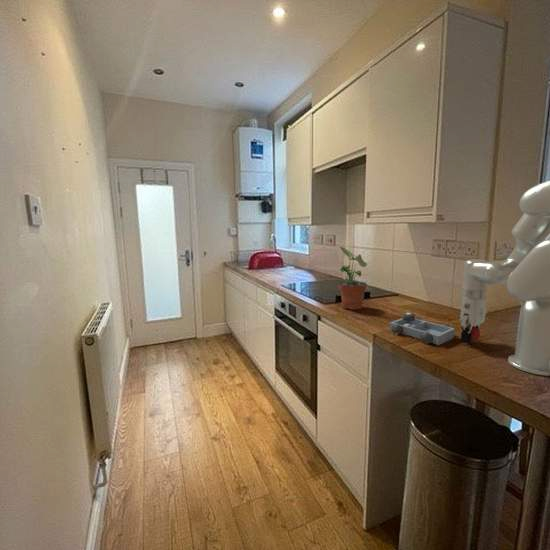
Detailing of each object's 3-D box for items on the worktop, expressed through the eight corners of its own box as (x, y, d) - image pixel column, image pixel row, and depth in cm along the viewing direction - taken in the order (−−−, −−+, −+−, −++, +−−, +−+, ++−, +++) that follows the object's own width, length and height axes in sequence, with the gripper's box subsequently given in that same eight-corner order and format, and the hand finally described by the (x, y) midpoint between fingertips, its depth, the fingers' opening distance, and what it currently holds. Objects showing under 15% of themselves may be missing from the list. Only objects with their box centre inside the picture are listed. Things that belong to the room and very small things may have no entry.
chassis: (456, 336, 120) (457, 326, 120) (435, 347, 110) (436, 336, 110) (408, 323, 136) (409, 315, 135) (386, 332, 126) (387, 322, 126)
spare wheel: (417, 319, 126) (417, 313, 126) (411, 321, 123) (411, 316, 123) (406, 316, 130) (406, 311, 130) (400, 318, 127) (400, 313, 127)
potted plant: (337, 311, 156) (338, 243, 151) (338, 303, 171) (339, 241, 165) (368, 313, 153) (371, 243, 147) (367, 305, 167) (369, 241, 161)
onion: (470, 347, 110) (472, 325, 109) (456, 341, 115) (458, 321, 114) (482, 344, 112) (484, 324, 110) (468, 339, 117) (470, 319, 116)
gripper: (475, 299, 102) (470, 349, 105) (495, 291, 112) (490, 338, 115) (452, 295, 108) (448, 343, 111) (472, 288, 118) (468, 332, 121)
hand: (469, 340), depth 113 cm, fingers closed on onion, 5 cm apart
